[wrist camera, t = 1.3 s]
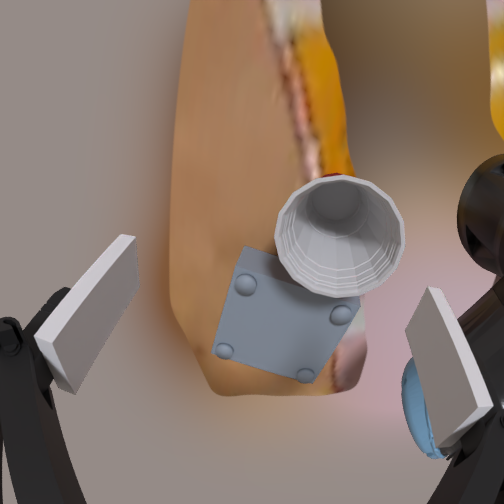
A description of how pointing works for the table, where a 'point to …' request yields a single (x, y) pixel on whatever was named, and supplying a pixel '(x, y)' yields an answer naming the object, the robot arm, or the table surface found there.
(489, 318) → the robot arm
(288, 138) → the table surface
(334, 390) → the table surface
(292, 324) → the base block
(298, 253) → the plastic cup
